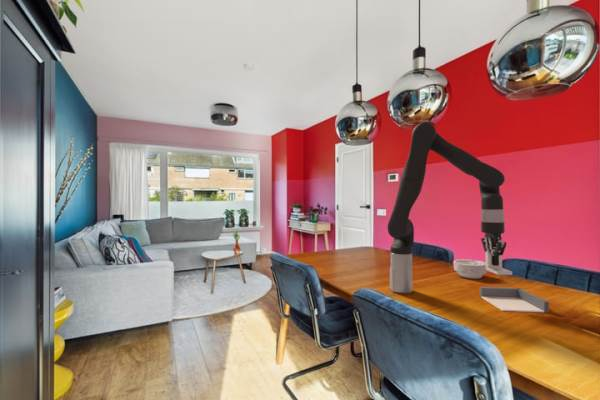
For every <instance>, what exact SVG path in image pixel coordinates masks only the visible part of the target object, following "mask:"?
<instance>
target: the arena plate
mask: <svg viewBox="0 0 600 400" xmlns="http://www.w3.org/2000/svg"><path fill="white" fill-rule="evenodd" d="M481 298H482V299H483V300H484V301H486V302H488V303H489V304H491V305H493V306H495V308H497V309H499V310H500V311H502V312H519V313H521V312H522V313H544V311H543V310H541V309H539V308H537V307H535V306H533V305H531V304H530V303H528V302H526V301H524V300H522V299H520V298H518V297H488V296H482V297H481Z"/></svg>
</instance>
